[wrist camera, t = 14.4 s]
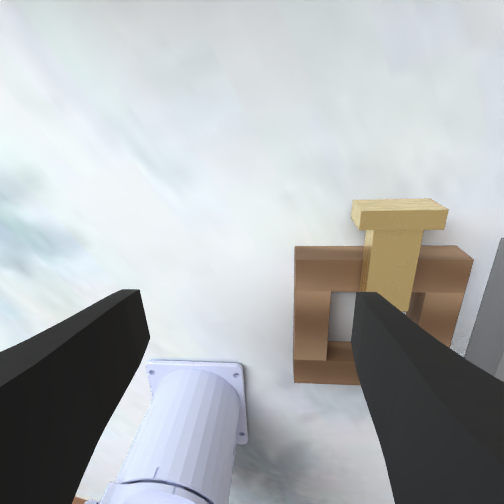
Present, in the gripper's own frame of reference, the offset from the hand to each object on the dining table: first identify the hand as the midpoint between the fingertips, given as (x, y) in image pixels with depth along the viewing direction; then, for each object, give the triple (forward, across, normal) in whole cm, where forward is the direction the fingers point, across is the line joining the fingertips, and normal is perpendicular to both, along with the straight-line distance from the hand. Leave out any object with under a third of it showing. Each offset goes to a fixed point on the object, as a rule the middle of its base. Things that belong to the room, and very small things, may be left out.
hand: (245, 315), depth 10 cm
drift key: (+8, -7, +1) cm, 11 cm away
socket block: (+10, -7, +7) cm, 14 cm away
